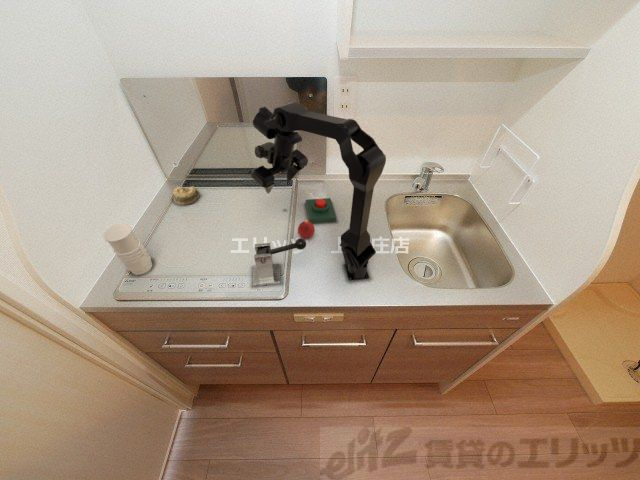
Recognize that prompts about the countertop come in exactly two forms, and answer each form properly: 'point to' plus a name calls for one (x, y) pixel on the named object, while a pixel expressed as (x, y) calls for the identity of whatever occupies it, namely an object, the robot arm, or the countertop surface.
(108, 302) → the countertop surface
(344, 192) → the countertop surface
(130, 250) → the candle
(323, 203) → the button
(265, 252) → the lever
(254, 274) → the bracket
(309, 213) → the control box
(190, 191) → the cake
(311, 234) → the onion
